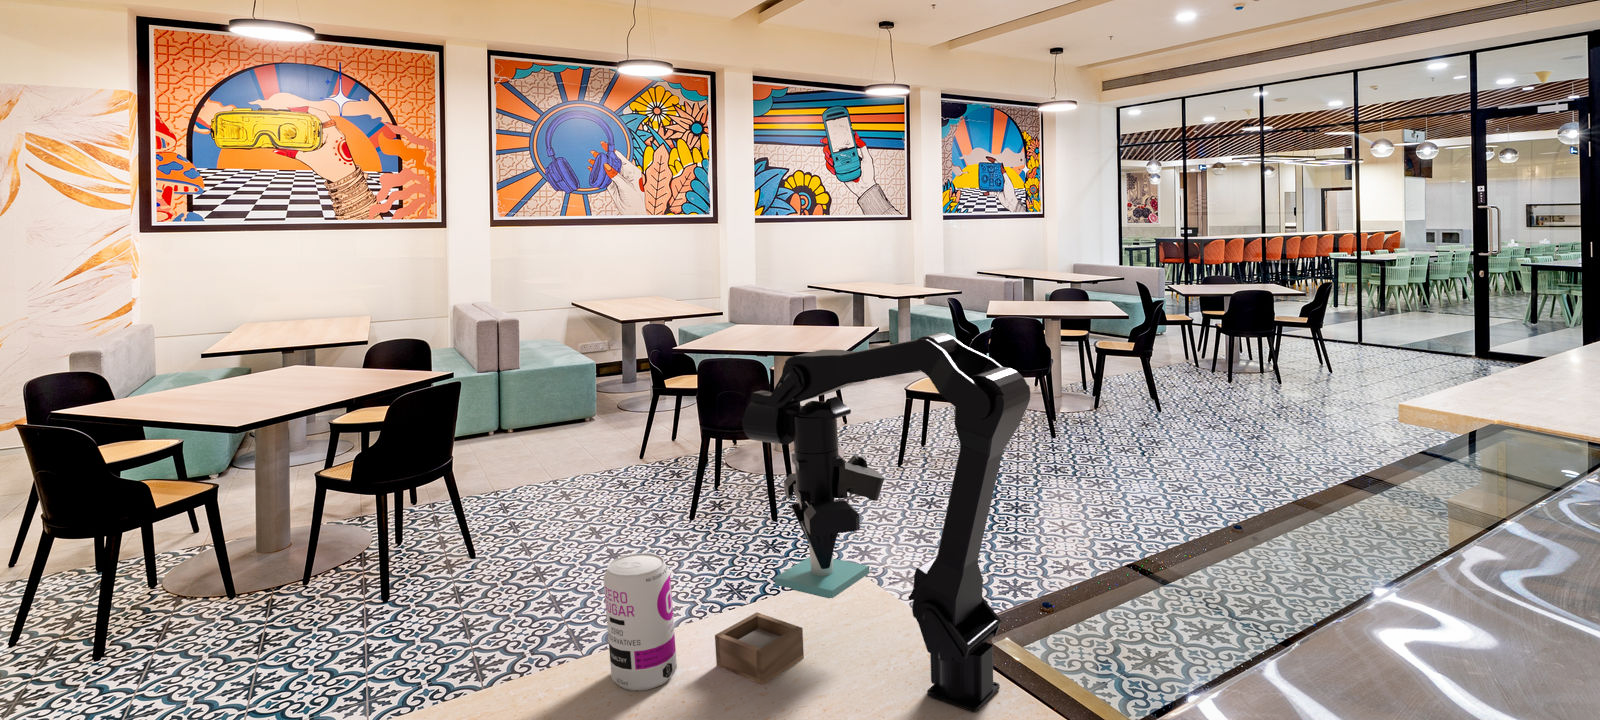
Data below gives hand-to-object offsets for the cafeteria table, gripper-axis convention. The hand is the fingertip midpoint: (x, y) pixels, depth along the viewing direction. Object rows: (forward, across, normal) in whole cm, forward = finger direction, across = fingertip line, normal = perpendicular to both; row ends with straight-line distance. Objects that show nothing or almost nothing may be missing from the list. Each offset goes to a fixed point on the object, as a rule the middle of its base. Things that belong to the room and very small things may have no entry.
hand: (822, 563), depth 113 cm
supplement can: (+12, -1, +24) cm, 27 cm away
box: (+12, -2, +9) cm, 15 cm away
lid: (+2, 0, 0) cm, 2 cm away
